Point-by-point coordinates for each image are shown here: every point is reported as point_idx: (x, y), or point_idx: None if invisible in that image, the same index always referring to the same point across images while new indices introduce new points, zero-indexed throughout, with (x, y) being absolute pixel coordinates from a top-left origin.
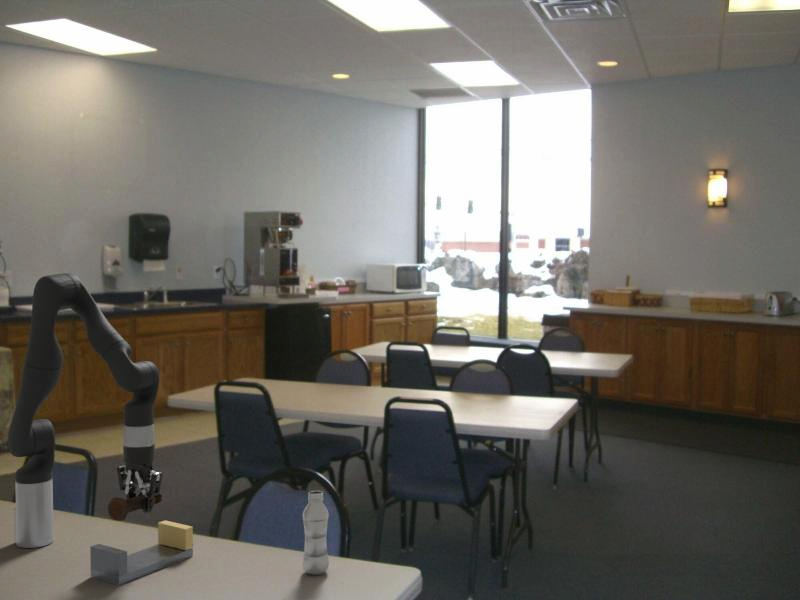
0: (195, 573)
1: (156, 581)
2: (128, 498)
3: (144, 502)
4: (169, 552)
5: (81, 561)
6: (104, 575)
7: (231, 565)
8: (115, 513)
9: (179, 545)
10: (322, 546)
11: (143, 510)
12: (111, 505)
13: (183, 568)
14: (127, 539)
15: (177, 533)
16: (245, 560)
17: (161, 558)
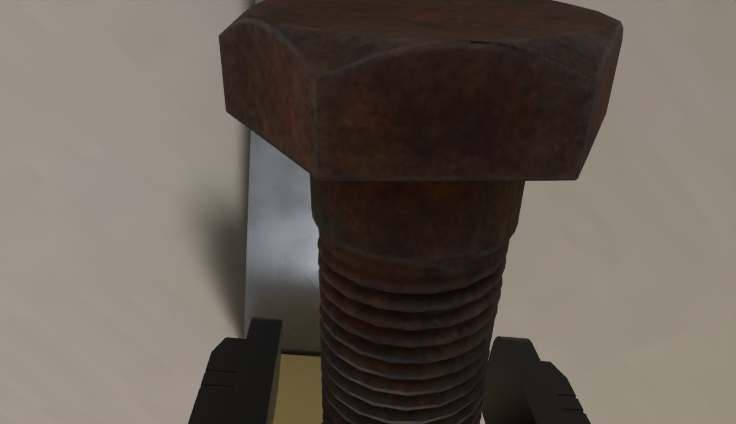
0: (59, 209)
1: (134, 33)
2: (545, 419)
3: (238, 395)
4: (300, 306)
5: (712, 87)
6: None
7: (9, 348)
8: (423, 3)
9: (284, 366)
10: None
11: (276, 328)
12: (542, 20)
13: (163, 234)
14: (653, 387)
15: (293, 412)
16: (11, 409)
17: (273, 228)
